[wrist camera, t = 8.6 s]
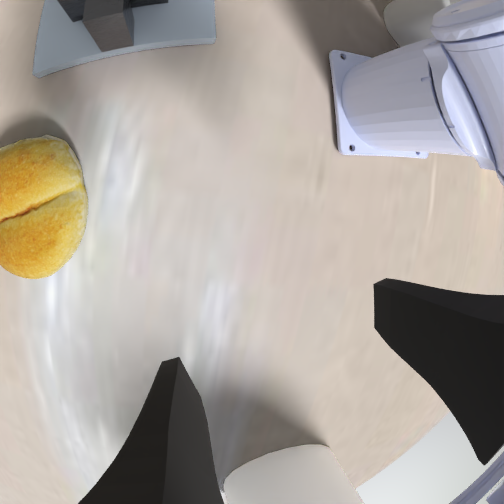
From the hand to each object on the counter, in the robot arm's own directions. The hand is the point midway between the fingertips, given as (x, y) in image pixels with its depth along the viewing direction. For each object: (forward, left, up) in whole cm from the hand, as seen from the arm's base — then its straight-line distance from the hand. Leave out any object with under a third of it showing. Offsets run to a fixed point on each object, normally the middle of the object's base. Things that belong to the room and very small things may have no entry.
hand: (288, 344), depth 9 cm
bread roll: (+13, -5, -11) cm, 18 cm away
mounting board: (+6, -19, -10) cm, 22 cm away
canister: (-3, +33, -11) cm, 35 cm away
